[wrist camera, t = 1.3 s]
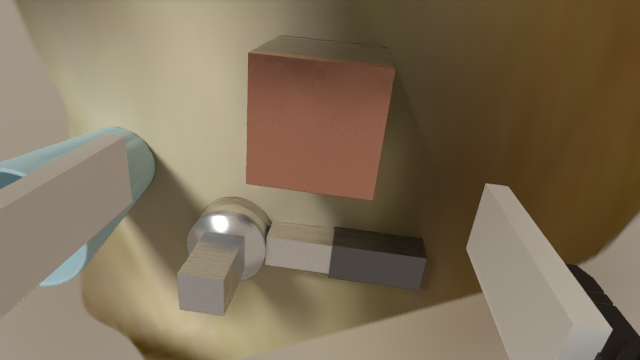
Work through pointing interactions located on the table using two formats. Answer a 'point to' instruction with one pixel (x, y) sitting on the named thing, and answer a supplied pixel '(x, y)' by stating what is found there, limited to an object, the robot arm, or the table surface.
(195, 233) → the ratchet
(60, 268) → the cup
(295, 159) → the red-topped grey block
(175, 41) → the table surface
